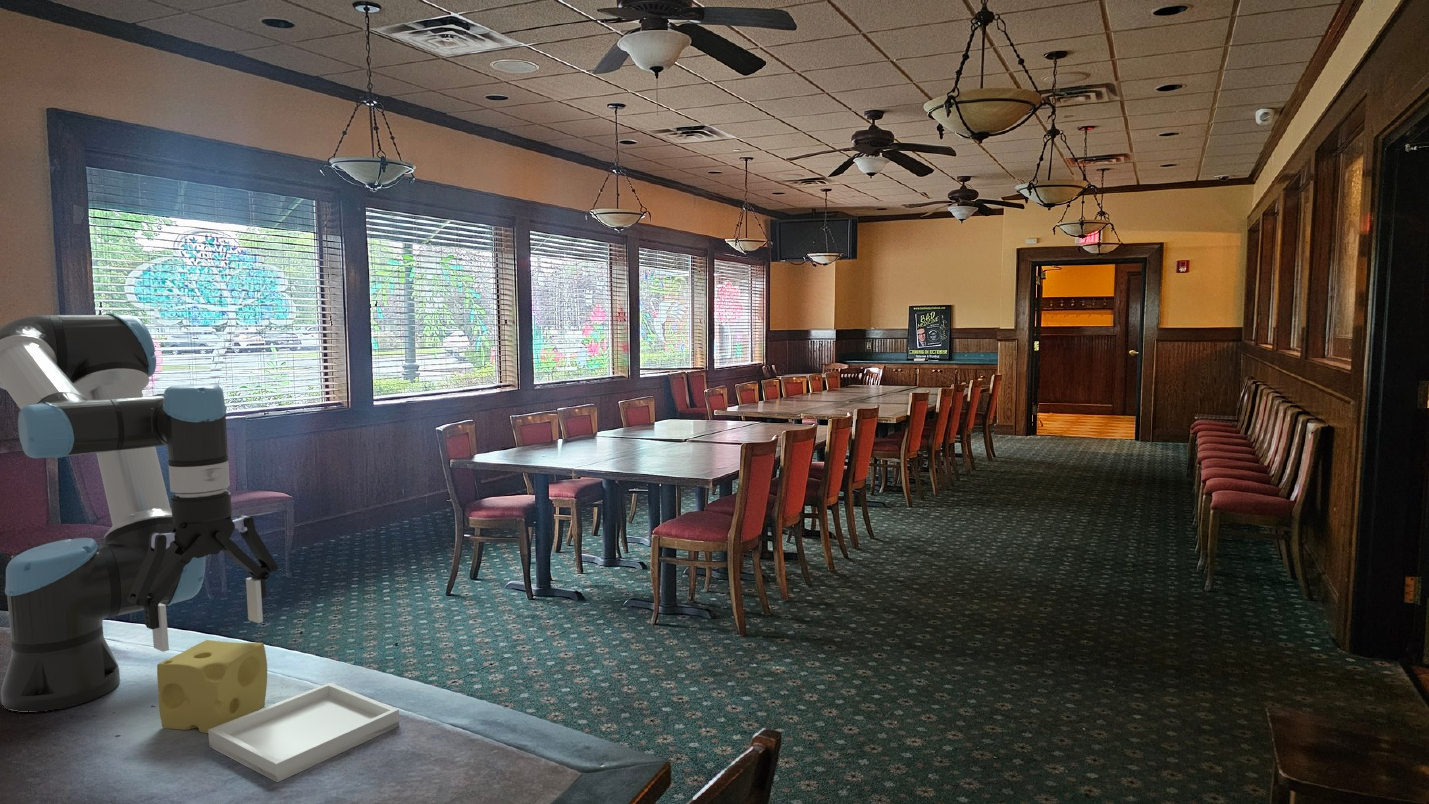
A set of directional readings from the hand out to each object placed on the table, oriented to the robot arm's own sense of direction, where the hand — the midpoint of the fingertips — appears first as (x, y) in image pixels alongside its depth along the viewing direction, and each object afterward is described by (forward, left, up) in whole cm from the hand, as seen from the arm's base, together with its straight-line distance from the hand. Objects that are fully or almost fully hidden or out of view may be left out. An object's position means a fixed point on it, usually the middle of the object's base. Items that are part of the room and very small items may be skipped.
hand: (210, 634), depth 133 cm
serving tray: (+17, +4, -13) cm, 21 cm away
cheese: (0, 0, -13) cm, 13 cm away
